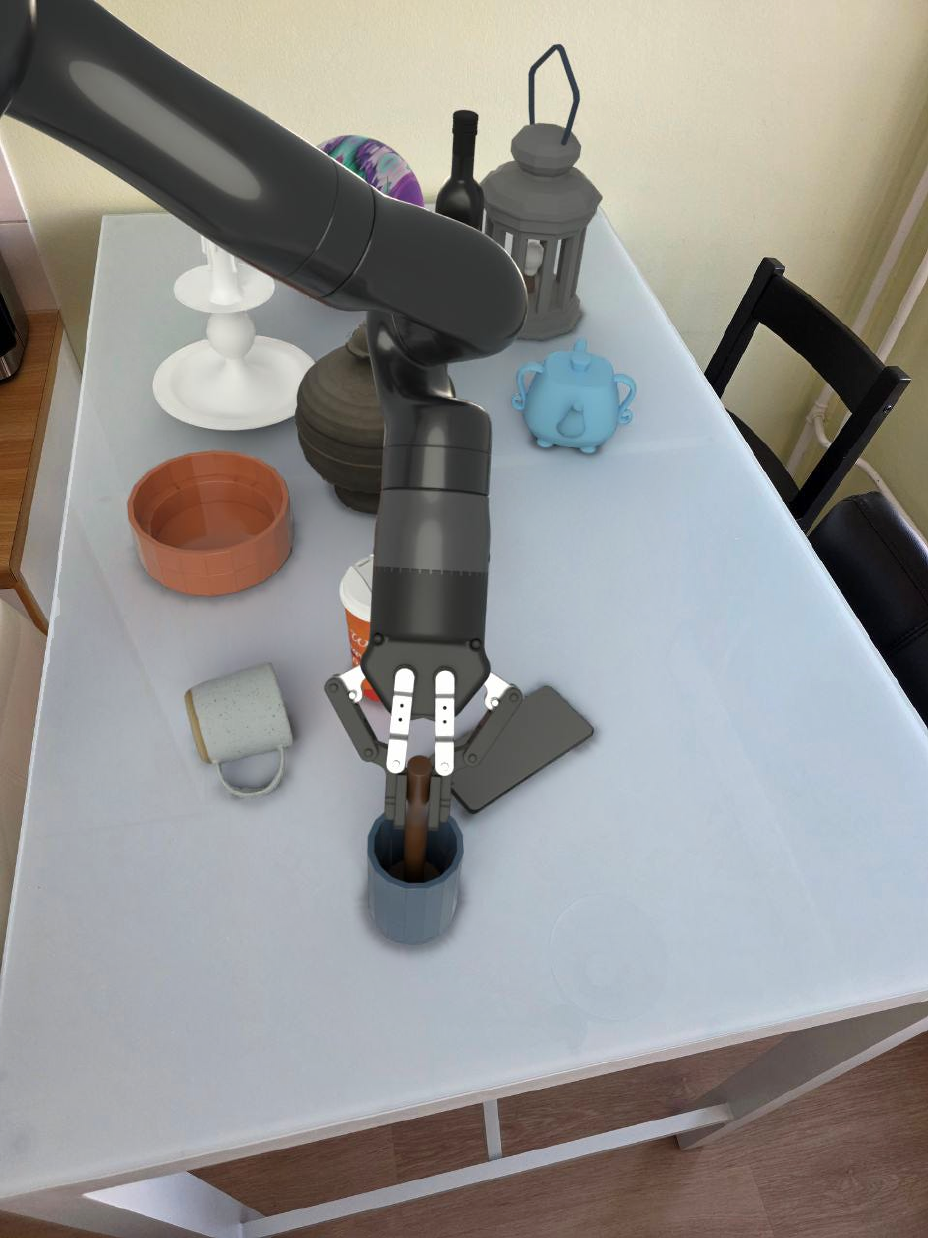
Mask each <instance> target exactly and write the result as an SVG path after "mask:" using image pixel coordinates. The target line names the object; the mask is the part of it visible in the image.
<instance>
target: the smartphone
mask: <svg viewBox="0 0 928 1238" xmlns="http://www.w3.org/2000/svg"><path fill="white" fill-rule="evenodd" d="M473 731H474V729H473V730H471V731H469V732H468V733H466V734H464V735H463V736H461V737H459V738H458V739H456V740H454V747H457V746H461V745H464V744H465V743H466V741H467V740H468V738H469V737H470V735H471V734H472V732H473ZM594 733H595V730H594V727H593V725H591V724H590V723H589V722H588V721H587V720H586V719H585V718H584V716H582V715H581V714H580V713H579V712H578V711H577V710H576V709H575V708H574V707H573V706H572V705H571V704H570V703H569V702H568V701H567V700H566V699H564V697H562V695H560V693H559V692H557V690H555V689H554V688H553V687H552V686H550V685H544V686H542V687H541V688H539V689H537V690H536V691H534V692H533V693H531V694H529V695H528V696H526V697H523V701H522V703H521V704H520V706H519V707H518V709H517V710H516V712H515V713H514V715H513V716H512V717H511V719H510V720H509V722H508V723H507V725H506V726H505V728H504V729H503V731H502V732H501V734H500V735H499V737H498V738H497V739H496V741H495V742H494V744H493V745H492V747H491V748H490V750H489V751H488V753H487V754H486V756H485V757H484V759H483V760H482V761H481V763H480V764H479V765H478V766H477V767H474V768H471V767H466V768H463V769H460V770H458V771H456V772H455V773H454V775H453V777H452V786H451V795H452V796H453V797H454V798H455V799H456V800H457V801H458V802H459V803H460V804H461V806H462V807H463V808H464V809H465V810H466V811H467V812H468V813H469V814H470V815H477V814H478V813H480V812H481V811H483V810H485V809H486V808H487V807H489V806H490V805H491V804H493V803H495V802H496V801H497V800H499V799H500V798H502V797H504V796H505V795H507V794H509V792H511V791H512V790H514V789H516V788H517V787H518V786H520V785H521V784H523V783H524V782H526V781H527V780H530V779H531V778H532V777H533V776H535V775H537V774H538V773H539V772H541V771H542V770H544V769H545V768H546V767H548V766H549V765H551V764H552V763H554V762H555V761H557V760H558V759H560V758H561V757H563V756H564V755H566V754H567V753H569V752H571V751H572V750H573V749H575V748H576V747H578V746H579V745H581V744H582V743H584V742H585V741H587V740H588V739H589V738H591V737H593V736H594ZM434 758H435V753H434V754H432V755H431V756H429V757H428V759H429V760H430V761H431V763H432V769H434Z"/></svg>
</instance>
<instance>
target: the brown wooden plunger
mask: <svg viewBox="0 0 928 1238" xmlns="http://www.w3.org/2000/svg"><path fill="white" fill-rule="evenodd" d="M406 767H407V800H406V818H405V841H404V860H401V861H399V862H397V863H396V864H394V865H393V866H392V867H391V868H390V869H389V870H388V872H387V873H388V874H389V875H390V876H391V877H393V878H395V879H398V880H401V881H403V882H406V883H426V882H428V881H430V880H433V879H435V878H438V877H440V876H441V875H440V873H439V871H438V870H437V869H436V868H435V867H434V866H433V865H432V864H431V863H429V862H427V861H425V856H426V842H427V829H428V812H429V795H430V782H431V774H432V763H431V761H430V760H429V757H427V756H425V755H422V754H416V755H413V756H412V757H410V758H409V759H408V761H407V762H406Z"/></svg>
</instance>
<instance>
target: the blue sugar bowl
mask: <svg viewBox="0 0 928 1238" xmlns="http://www.w3.org/2000/svg"><path fill="white" fill-rule="evenodd" d="M587 347H588V341H587V339H586V338H583V337H578V338H577V339H576V340H575V341H574V345H573V350H557V351H554V352H551V353H550V354H548V356H546V357H545V359H544V360H543V362H542V363H538V362H528V363H525V364H523V365H521V366H520V368H519V369H518V371H517V372H516V385H517V388H518V392H517V393H515V394H513V395H512V397H511V399H510V404H511V406H512V408H513V409H515V410H517V411H523V416H524V421H525V424H526V426H527V427H528V430H529V431H530V433H531V434H532V435H533V436H534V437H535V438H537V439H536V444H537V445H538V446H540V447H542V448H550V447H553V446H554V445H557V446H561V447H566V448H567V447H569V448H578V449H579V450H580V451H581V452H583V453H586V454H591V453H594V452H595V451H596V450H597V447H598V446H600V445H602V444H604V443H605V442H607V441H608V440H610V438H612V436H613V435H614V434H615V432H616V430H617V427H618V424H619V425H627V424H629V423H631V422H632V420H633V417H634V414H633V411H632V410H631V409H630V408H628V407H629V406H630V405H631V403H632V402H633V400H634V398H635V397H636V394H637V389H638V388H637V383H636V381H635V380H634V378H632V377H631V376H629V375H627V374H625V373H615V371H614V368H613V365H612V363H611V362H610V361H609V360H608V359H607V358H605V357H603V356H601V355H598V354H594V353H590V352H587V349H588V348H587ZM529 372H532V373H533V372H534V375H533V377H532V379H531V381H530V384H529V386H528V389H526V386H525V382H524V375H525V374H527V373H529ZM618 383H620V384H624V385H626V386H628V387H629V391H628V393H627V395H626V397H625V398H624V399H623V400H622V402H620V392H619V386H618ZM518 400H521V401H518ZM620 403H621V404H620ZM624 415H626V416H624Z"/></svg>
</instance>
